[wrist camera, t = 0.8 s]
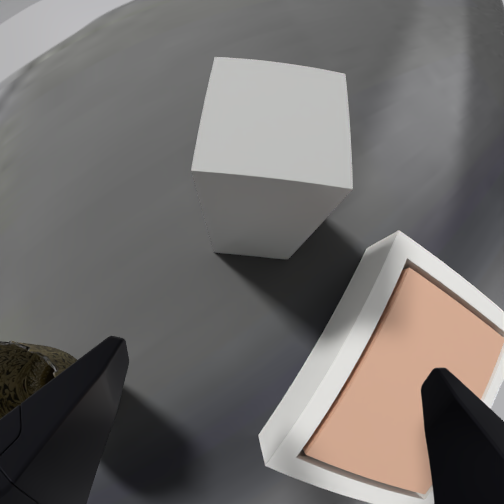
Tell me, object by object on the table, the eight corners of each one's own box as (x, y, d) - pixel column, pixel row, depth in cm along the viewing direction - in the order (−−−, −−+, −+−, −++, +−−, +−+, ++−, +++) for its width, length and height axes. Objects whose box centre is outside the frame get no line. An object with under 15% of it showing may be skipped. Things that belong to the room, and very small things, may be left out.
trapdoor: (399, 473, 18) (424, 494, 14) (293, 431, 19) (305, 454, 15) (471, 338, 20) (504, 338, 17) (381, 276, 21) (409, 267, 17)
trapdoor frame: (396, 488, 19) (425, 515, 14) (258, 435, 19) (265, 465, 14) (481, 328, 22) (521, 327, 17) (366, 248, 22) (398, 230, 17)
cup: (144, 389, 20) (100, 424, 12) (90, 451, 18) (39, 496, 10) (70, 315, 20) (3, 311, 12) (24, 381, 19) (-42, 396, 11)
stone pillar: (287, 259, 22) (352, 189, 10) (213, 252, 22) (190, 170, 9) (292, 190, 23) (345, 73, 11) (222, 183, 23) (214, 56, 10)
